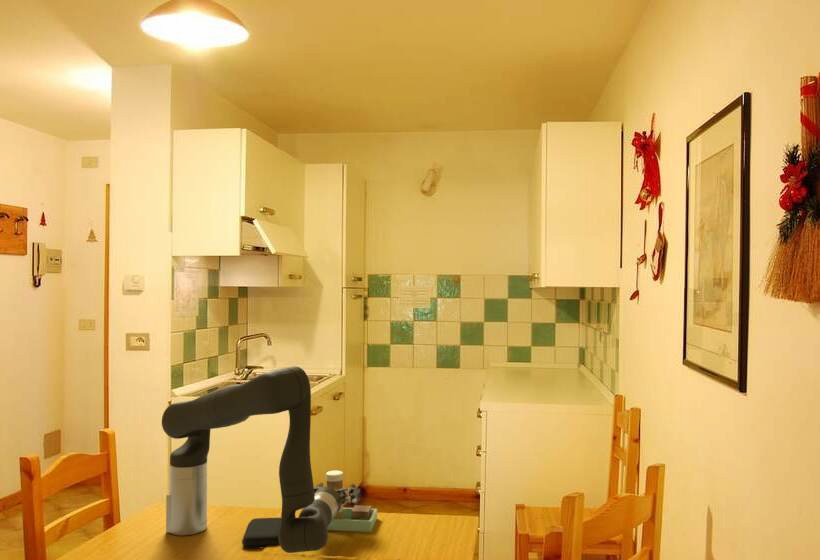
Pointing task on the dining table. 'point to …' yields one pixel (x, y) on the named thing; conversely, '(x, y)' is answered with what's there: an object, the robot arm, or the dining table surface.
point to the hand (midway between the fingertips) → (337, 486)
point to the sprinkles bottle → (335, 486)
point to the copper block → (361, 512)
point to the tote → (353, 522)
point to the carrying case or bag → (262, 533)
